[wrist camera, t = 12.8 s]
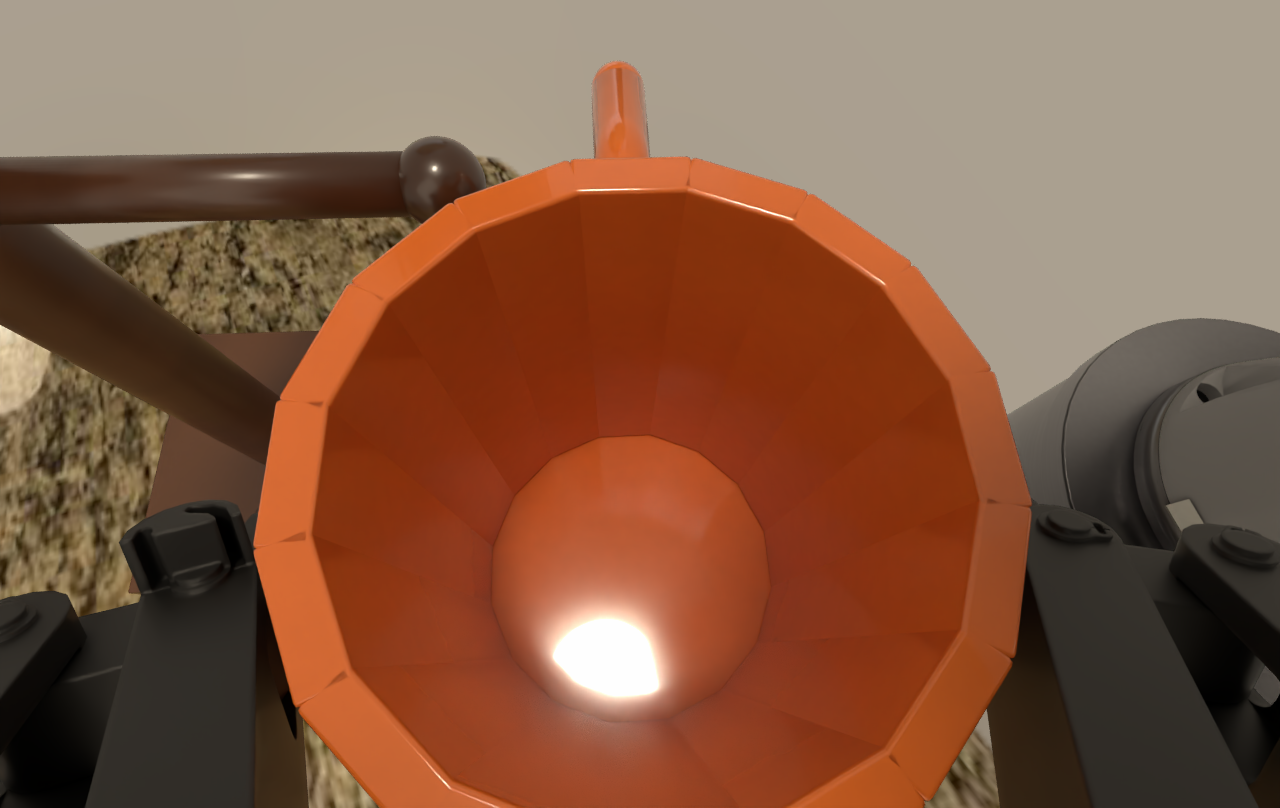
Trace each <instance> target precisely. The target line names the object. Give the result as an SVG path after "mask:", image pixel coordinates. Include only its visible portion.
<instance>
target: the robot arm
mask: <svg viewBox="0 0 1280 808" xmlns="http://www.w3.org/2000/svg"><path fill="white" fill-rule="evenodd" d="M1134 474H1135V482H1136V487H1137V491H1138V495H1139V498H1140V501H1141V505H1142V508H1143V510H1144V513H1145V515H1146V517H1147V520H1148V522H1149V524H1150V526H1151V528H1152V530H1153V532H1154V534H1155V535H1156V537H1157V539H1158V540H1159V542H1160V544H1161V545H1162V547H1163V548H1164V550H1162V549H1154V548H1147V547H1139V546H1132V545H1124V543H1123V541H1122V539H1121V538H1120V537H1119V536H1118V534H1117V533H1116V532H1115V531H1114V530H1113V529H1112V528H1111V527H1110V526H1108V525H1106V524H1105V523H1103V522H1102V521H1100V520H1099V519H1097V518H1095V517H1092V516H1090V515H1087V514H1085V513H1082V512H1080V511H1078V510H1073V509H1069V508H1065V507H1061V506H1055V505H1042V504H1038V503H1036V502H1035V501H1034V500H1033V499H1032V498H1031V500H1032V506H1031V507H1030V509H1031V511H1032V518H1031V527H1030V536H1029V545H1028V554H1027V563H1026V572H1025V580H1024V589H1023V598H1022V607H1021V616H1020V625H1019V634H1018V642H1017V651H1016V655H1015V657H1014V658H1013V659H1011V661H1012V662H1013V664H1012V667H1011V669H1010V671H1009V672H1008V674H1007V676H1006V677H1005V679H1004V681H1003V682H1002V684H1001V686H1000V687H999V689H998V691H997V692H996V694H995V696H994V697H993V699H992V700H991V702H990V704H989V705H988V707H987V713H988V721H989V727H990V736H991V743H992V750H993V758H994V765H995V773H996V780H997V788H998V795H999V802H1000V808H1280V694H1279V696H1278V698H1277V700H1276V701H1275V702H1274V703H1273V704H1272V705H1270V704H1269V703H1268V702H1267V701H1265V700H1264V699H1263V698H1262V697H1261V696H1260V694H1259V693H1258V692H1257V691H1256V690H1255V689H1254V686H1255V684H1256V682H1257V680H1258V678H1259V676H1260V674H1261V672H1262V670H1263V668H1264V666H1266V667H1267V668H1268V669H1269V670H1270V671H1271V672H1272V673H1273V674H1274V675H1275V676H1276V677H1277V678H1278V680H1279V681H1280V357H1275V358H1268V359H1260V360H1252V361H1245V362H1238V363H1233V364H1227V365H1222V366H1218V367H1215V368H1212V369H1209V370H1206V371H1204V372H1202V373H1200V374H1198V375H1196V376H1194V377H1192V378H1190V379H1187V380H1185V381H1183V382H1181V383H1179V384H1177V385H1175V386H1173V387H1172V388H1170V389H1168V390H1167V391H1165V392H1164V393H1163V394H1162V395H1161V396H1160V397H1158V398H1157V399H1156V401H1155V402H1154V403H1153V404H1152V405H1151V406H1150V408H1149V409H1148V411H1147V412H1146V414H1145V415H1144V417H1143V419H1142V421H1141V423H1140V426H1139V429H1138V432H1137V436H1136V441H1135V446H1134ZM258 511H259V507H258V508H257V509H256V513H253V514H252V515H251V516H250V517H249V519H248V520H247V521H246V522H245V523H244V520H243V517H242V514H241V511H240V509H239V507H238V505H237V504H234V503H232V502H229V501H227V500H202V501H196V502H190V503H185V504H182V505H179V506H175V507H172V508H169V509H165V510H163V511H161V512H159V513H157V514H154V515H152V516H150V517H148V518H146V519H144V520H142V521H141V522H139V523H138V524H137V525H135V526H134V527H132V528H131V529H130V530H128V531H127V532H126V534H125V535H124V536H123V538H122V539H121V540H120V542H119V544H120V546H121V548H122V551H123V553H124V556H125V558H126V560H127V563H128V565H129V567H130V570H131V572H132V575H133V577H134V579H135V582H136V584H137V586H138V589H139V591H140V593H141V598H140V601H139V602H138V603H135V604H131V605H127V606H123V607H119V608H114V609H110V610H106V611H102V612H98V613H94V614H90V615H86V616H81V617H78V616H77V614H76V612H75V610H74V608H73V606H72V604H71V602H70V600H69V598H68V595H66V594H63V593H59V592H56V591H43V592H32V593H28V594H23V595H19V596H12V597H8V598H5V599H2V600H0V808H309V805H308V790H307V775H306V761H305V746H304V731H303V718H302V717H301V715H300V713H299V711H298V710H299V708H300V707H299V708H296V707H295V706H294V704H293V700H292V696H291V693H290V689H289V685H288V681H287V677H286V674H285V670H284V666H283V662H282V659H281V655H280V651H279V647H278V644H277V640H276V636H275V632H274V629H273V625H272V621H271V617H270V613H269V610H268V606H267V602H266V598H265V595H264V591H263V587H262V583H261V580H260V576H259V572H258V568H257V565H256V561H255V557H254V550H255V548H254V545H253V542H254V536H255V530H256V524H257V518H258Z"/></svg>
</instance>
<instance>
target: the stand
mask: <svg viewBox="0 0 1280 808" xmlns="http://www.w3.org/2000/svg"><path fill="white" fill-rule="evenodd" d="M483 189H486V179H485V174H484V172H483V169H482V166H481V165H480V163H479V161H478V160H477V158H476V157H475V156H474V154H473V153H472V152H471V151H470V150H469V149H468V148H466V147H465V146H464V145H462V144H461V143H459V142H457V141H455V140H453V139H450V138H446V137H440V136H431V137H425V138H422V139H419V140H417V141H415V142H413V143H412V144H410V145H409V146H408V147H407V148H406V149H405V150H404V151H393V152H332V153H331V152H329V153H328V152H327V153H326V152H324V153H261V154H258V153H256V154H188V155H125V156H122V155H120V156H52V157H0V325H2V326H4V327H5V328H7V329H9V330H11V331H13V332H15V333H17V334H19V335H21V336H22V337H24V338H26V339H28V340H30V341H32V342H34V343H36V344H37V345H39V346H41V347H43V348H45V349H47V350H49V351H51V352H53V353H54V354H56V355H58V356H60V357H62V358H64V359H66V360H68V361H69V362H71V363H73V364H75V365H77V366H79V367H81V368H83V369H85V370H86V371H88V372H90V373H92V374H94V375H96V376H98V377H100V378H101V379H103V380H105V381H107V382H109V383H111V384H113V385H115V386H117V387H118V388H120V389H122V390H124V391H126V392H128V393H130V394H132V395H133V396H135V397H137V398H139V399H141V400H143V401H145V402H147V403H148V404H150V405H152V406H154V407H156V408H158V409H160V410H162V411H164V412H165V413H167V414H169V419H168V424H167V428H166V432H165V437H164V441H163V445H162V449H161V454H160V458H159V462H158V467H157V471H156V475H155V480H154V484H153V488H152V493H151V497H150V501H149V506H148V510H147V514H146V518H148V517H150V516H152V515H154V514H157V513H159V512H161V511H163V510H165V509H169V508H172V507H175V506H179V505H182V504H185V503H190V502H196V501H202V500H227V501H229V502H232V503H234V504H237V505H238V507H239V509H240V511H241V514H242V517H243V520H244V523H245V522H246V521H247V520H248V519H249V517H250V516H251V515H252V514H253V513H256V509H257V508H258V507H259V505H260V499H261V493H262V487H263V480H264V474H265V468H266V462H267V456H268V449H269V443H270V437H271V431H272V425H273V419H274V412H275V406H276V403H277V401H280V395H281V393H282V391H283V390H284V388H285V386H286V385H287V383H288V382H289V380H290V378H291V377H292V375H293V373H294V372H295V370H296V368H297V367H298V365H299V363H300V362H301V360H302V359H303V357H304V355H305V354H306V352H307V350H308V349H309V347H310V345H311V344H312V342H313V340H314V339H315V337H316V336H317V334H318V332H319V331H298V332H264V333H230V334H196V333H195V332H194V331H192V330H191V329H190V328H188V327H187V326H186V325H184V324H183V323H182V322H180V321H179V320H178V319H176V318H175V317H174V316H173V315H171V314H170V313H169V312H167V311H166V310H165V309H163V308H162V307H161V306H159V305H158V304H157V303H155V302H154V301H153V300H151V299H150V298H149V297H148V296H146V295H145V294H144V293H142V292H141V291H140V290H138V289H137V288H136V287H134V286H133V285H132V284H130V283H129V282H128V281H126V280H125V279H124V278H122V277H121V276H120V275H119V274H117V273H116V272H115V271H113V270H112V269H111V268H109V267H108V266H107V265H105V264H104V263H103V262H101V261H100V260H99V259H97V258H96V257H95V256H94V255H92V254H91V253H90V252H88V251H87V250H86V249H84V248H83V247H82V246H80V245H79V244H78V243H76V242H75V241H74V240H72V239H71V238H70V237H68V236H67V235H66V234H64V233H63V232H62V231H60V230H59V229H58V228H57V227H55V226H54V225H53V224H77V223H78V224H80V223H129V222H179V221H229V220H279V219H328V218H378V217H413V218H414V219H415V220H417V221H418V222H420V223H421V224H423V223H424V222H425V221H426V220H428V219H429V218H430V217H432V216H433V215H434V214H435V213H437V212H438V211H439V210H440V209H442V208H443V207H444V206H445V205H447V204H449V203H453V204H454V200H456V199H457V198H460V197H463V196H466V195H469V194H472V193H475V192H477V191H480V190H483ZM129 593H132V594H141V593H140V591H139V589H138V586H137V584H136V582H135V579H134V577H133V575H132V579H131V583H130V588H129Z"/></svg>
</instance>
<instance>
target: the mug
mask: <svg viewBox="0 0 1280 808" xmlns="http://www.w3.org/2000/svg"><path fill="white" fill-rule="evenodd" d="M592 116H593V140H594V159H573V160H571V162H569V161H563V162H560V163H557V164H555V165H552V166H549V167H546V168H543V169H541V170H537V171H535V172H532V173H529V174H526V175H523V176H520V177H517V178H515V179H512V180H509V181H506V182H503V183H500V184H497V185H495V186H492V187H489V188H486V189H483V190H480V191H477V192H475V193H472V194H469V195H466V196H463V197H460V198H457V199H456V200H454V204H453V203H449V204H447V205H445V206H444V207H443V208H442V209H440V210H439V211H438V212H437V213H435V214H434V215H433V216H432V217H430V218H429V219H428V220H426V221H425V222H424V223H423V224H421V225H420V226H419V227H418V228H416V229H415V230H414V231H413V232H411V233H410V234H409V235H407V236H406V237H405V238H404V239H402V240H401V241H400V242H399V243H397V244H396V245H395V246H394V247H392V248H391V249H390V250H388V251H387V252H386V253H385V254H383V255H382V256H381V257H380V258H378V259H377V260H376V261H374V262H373V263H372V264H371V265H369V266H368V267H367V268H366V269H364V270H363V271H362V272H361V273H359V274H358V275H357V276H355V277H354V279H353V280H352V283H353V284H348V285H347V286H346V288H345V290H344V291H343V293H342V295H341V296H340V298H339V299H338V301H337V303H336V304H335V306H334V308H333V309H332V311H331V313H330V314H329V316H328V318H327V319H326V321H325V322H324V324H323V326H322V327H321V329H320V331H319V332H318V334H317V336H316V337H315V339H314V340H313V342H312V344H311V345H310V347H309V349H308V350H307V352H306V354H305V355H304V357H303V359H302V360H301V362H300V363H299V365H298V367H297V368H296V370H295V372H294V373H293V375H292V377H291V378H290V380H289V382H288V383H287V385H286V386H285V388H284V390H283V391H282V393H281V395H280V401H277V403H276V406H275V412H274V419H273V425H272V431H271V437H270V443H269V449H268V456H267V462H266V468H265V474H264V480H263V487H262V493H261V499H260V505H259V511H258V518H257V524H256V530H255V536H254V542H253V545H254V548H255V550H254V557H255V561H256V565H257V568H258V572H259V576H260V580H261V583H262V587H263V591H264V595H265V598H266V602H267V606H268V610H269V613H270V617H271V621H272V625H273V629H274V632H275V636H276V640H277V644H278V647H279V651H280V655H281V659H282V662H283V666H284V670H285V674H286V677H287V681H288V685H289V689H290V693H291V696H292V700H293V704H294V706H295V707H296V708H299V707H300V708H299V710H298V711H299V713H300V715H301V717H302V718H303V719H304V720H305V721H306V722H307V724H308V725H309V726H310V727H311V728H312V729H313V731H314V732H315V733H316V734H317V735H318V736H319V738H320V739H321V740H322V741H323V742H324V743H325V745H326V746H327V747H328V748H329V749H330V750H331V752H332V753H333V754H334V755H335V756H336V757H337V759H338V760H339V761H340V762H341V763H342V764H343V766H344V767H345V768H346V769H347V770H348V771H349V773H350V774H351V775H352V776H353V777H354V778H355V780H356V781H357V782H358V783H359V784H360V785H361V787H362V788H363V789H364V790H365V791H366V792H367V794H368V795H369V796H370V797H371V798H372V799H373V801H374V802H375V803H376V804H377V805H378V806H379V808H923V807H924V805H925V803H924V801H929V800H931V799H932V798H933V796H934V795H935V793H936V791H937V790H938V788H939V787H940V785H941V783H942V782H943V780H944V778H945V777H946V775H947V773H948V772H949V770H950V768H951V767H952V765H953V763H954V762H955V760H956V758H957V757H958V755H959V753H960V752H961V750H962V748H963V747H964V745H965V744H966V742H967V740H968V739H969V737H970V735H971V734H972V732H973V730H974V729H975V727H976V725H977V724H978V722H979V720H980V719H981V717H982V715H983V714H984V712H985V710H986V709H987V707H988V705H989V704H990V702H991V700H992V699H993V697H994V696H995V694H996V692H997V691H998V689H999V687H1000V686H1001V684H1002V682H1003V681H1004V679H1005V677H1006V676H1007V674H1008V672H1009V671H1010V669H1011V667H1012V664H1013V662H1012V661H1011V659H1013V658H1014V657H1015V655H1016V651H1017V642H1018V634H1019V625H1020V616H1021V607H1022V598H1023V589H1024V580H1025V572H1026V563H1027V554H1028V545H1029V536H1030V527H1031V518H1032V511H1031V509H1030V507H1031V506H1032V500H1031V497H1030V493H1029V490H1028V486H1027V483H1026V479H1025V476H1024V473H1023V469H1022V466H1021V462H1020V459H1019V455H1018V452H1017V448H1016V445H1015V441H1014V438H1013V434H1012V431H1011V428H1010V424H1009V421H1008V417H1007V414H1006V410H1005V407H1004V403H1003V400H1002V397H1001V393H1000V389H999V386H998V383H997V379H996V376H995V374H994V372H992V371H990V369H991V368H990V365H989V364H988V363H987V361H986V360H985V359H984V357H983V356H982V355H981V353H980V352H979V350H978V349H977V348H976V346H975V345H974V344H973V342H972V341H971V340H970V339H969V337H968V336H967V334H966V333H965V332H964V330H963V329H962V328H961V326H960V325H959V324H958V322H957V321H956V319H955V318H954V317H953V315H952V314H951V313H950V311H949V310H948V309H947V307H946V306H945V305H944V303H943V302H942V301H941V299H940V298H939V297H938V295H937V294H936V293H935V291H934V290H933V288H932V287H931V286H930V284H929V283H928V282H927V280H926V279H925V278H924V276H923V275H922V274H921V272H920V271H919V270H918V269H917V267H915V266H911V262H910V261H909V260H908V259H907V258H905V257H904V256H902V255H901V254H899V253H898V252H897V251H895V250H894V249H892V248H891V247H889V246H888V245H887V244H885V243H884V242H882V241H881V240H879V239H878V238H876V237H875V236H873V235H872V234H870V233H869V232H868V231H866V230H865V229H863V228H862V227H860V226H859V225H857V224H856V223H854V222H853V221H851V220H850V219H849V218H847V217H846V216H844V215H843V214H841V213H840V212H838V211H837V210H836V209H834V208H832V207H831V206H830V205H828V204H827V203H825V202H824V201H822V200H821V199H820V198H818V197H816V196H815V195H813V194H809V195H807V192H806V191H805V190H802V189H799V188H795V187H792V186H789V185H785V184H782V183H779V182H775V181H772V180H768V179H765V178H762V177H758V176H755V175H752V174H748V173H745V172H741V171H738V170H735V169H731V168H728V167H725V166H721V165H718V164H714V163H711V162H708V161H704V160H701V159H697V158H693V159H692V160H691V159H690V158H689V157H650V150H649V138H648V126H647V114H646V102H645V90H644V83H643V80H642V77H641V75H640V74H639V72H638V71H637V70H636V69H635V68H634V67H633V66H632V65H631V64H629V63H627V62H623V61H612V62H609V63H606V64H605V65H603V66H602V67H601V68H600V69H599V70H598V71H597V73H596V75H595V76H594V79H593V82H592Z"/></svg>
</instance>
